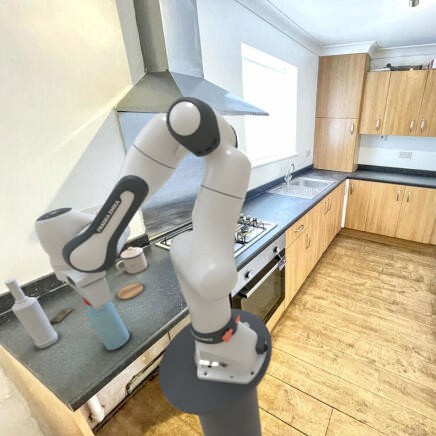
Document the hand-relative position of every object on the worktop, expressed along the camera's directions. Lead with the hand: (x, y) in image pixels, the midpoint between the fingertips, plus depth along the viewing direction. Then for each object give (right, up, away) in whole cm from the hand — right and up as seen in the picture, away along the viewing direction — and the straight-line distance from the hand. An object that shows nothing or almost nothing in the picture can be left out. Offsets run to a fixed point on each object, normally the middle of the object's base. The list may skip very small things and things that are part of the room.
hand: (93, 304), depth 69 cm
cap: (0, +3, -1) cm, 4 cm away
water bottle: (+2, -15, +7) cm, 16 cm away
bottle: (-21, -15, +7) cm, 27 cm away
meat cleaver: (-27, -12, +15) cm, 33 cm away
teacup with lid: (-17, +1, +42) cm, 46 cm away
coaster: (-9, -5, +29) cm, 30 cm away
